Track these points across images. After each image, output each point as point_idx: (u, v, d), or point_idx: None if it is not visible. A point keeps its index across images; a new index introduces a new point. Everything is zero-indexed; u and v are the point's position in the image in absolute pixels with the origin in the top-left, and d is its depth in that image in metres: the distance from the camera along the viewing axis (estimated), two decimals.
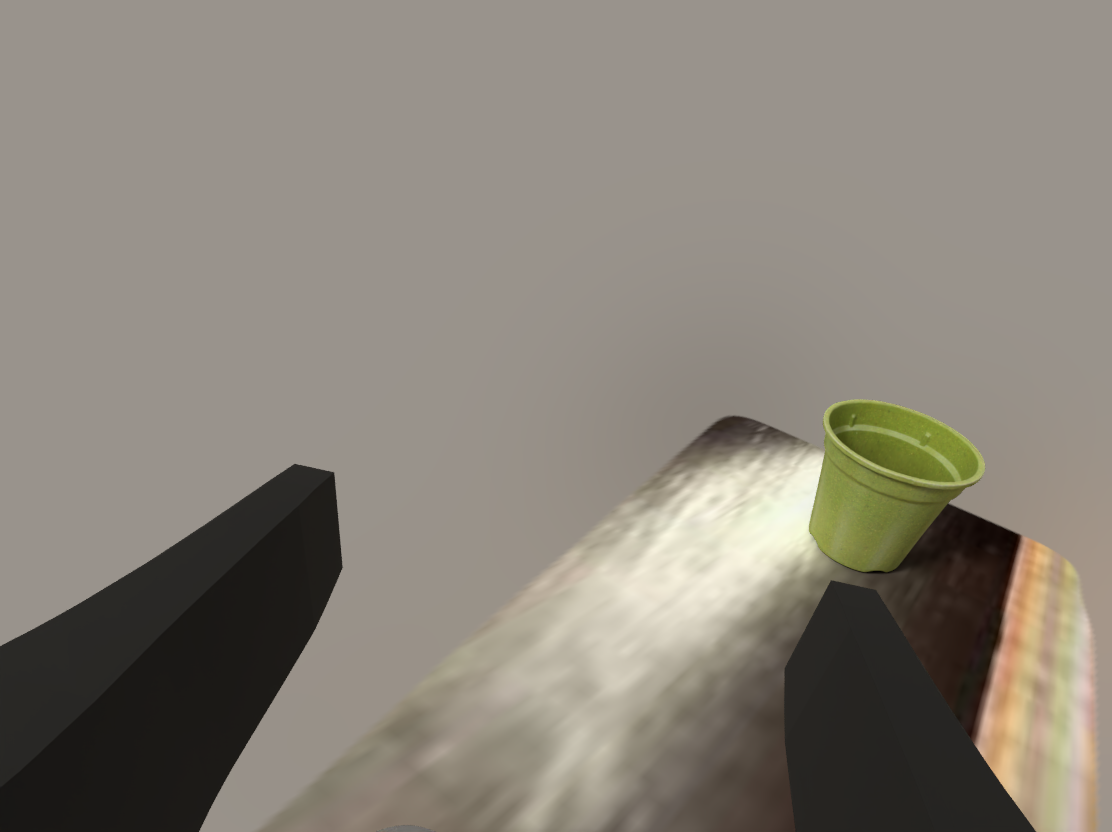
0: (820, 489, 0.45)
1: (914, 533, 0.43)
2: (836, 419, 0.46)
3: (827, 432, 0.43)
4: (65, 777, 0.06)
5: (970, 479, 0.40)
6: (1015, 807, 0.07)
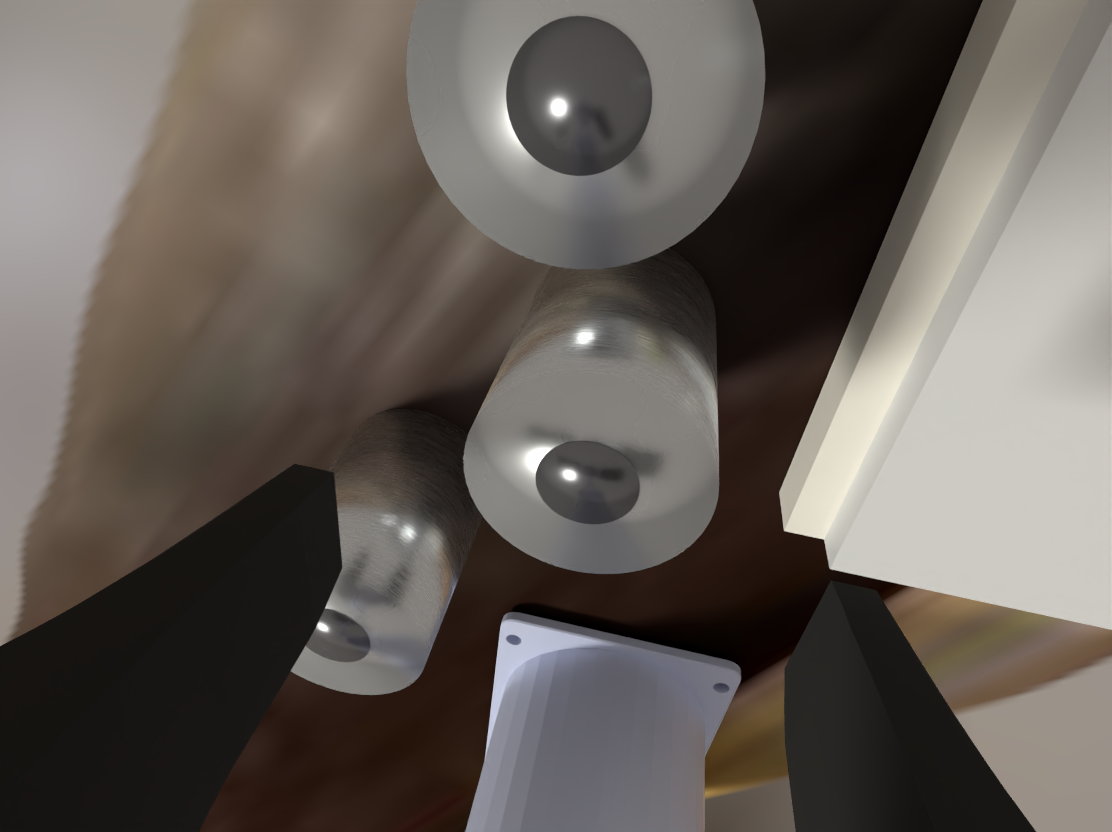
0: None
1: None
2: None
3: None
4: (65, 778, 0.06)
5: None
6: (1015, 807, 0.07)
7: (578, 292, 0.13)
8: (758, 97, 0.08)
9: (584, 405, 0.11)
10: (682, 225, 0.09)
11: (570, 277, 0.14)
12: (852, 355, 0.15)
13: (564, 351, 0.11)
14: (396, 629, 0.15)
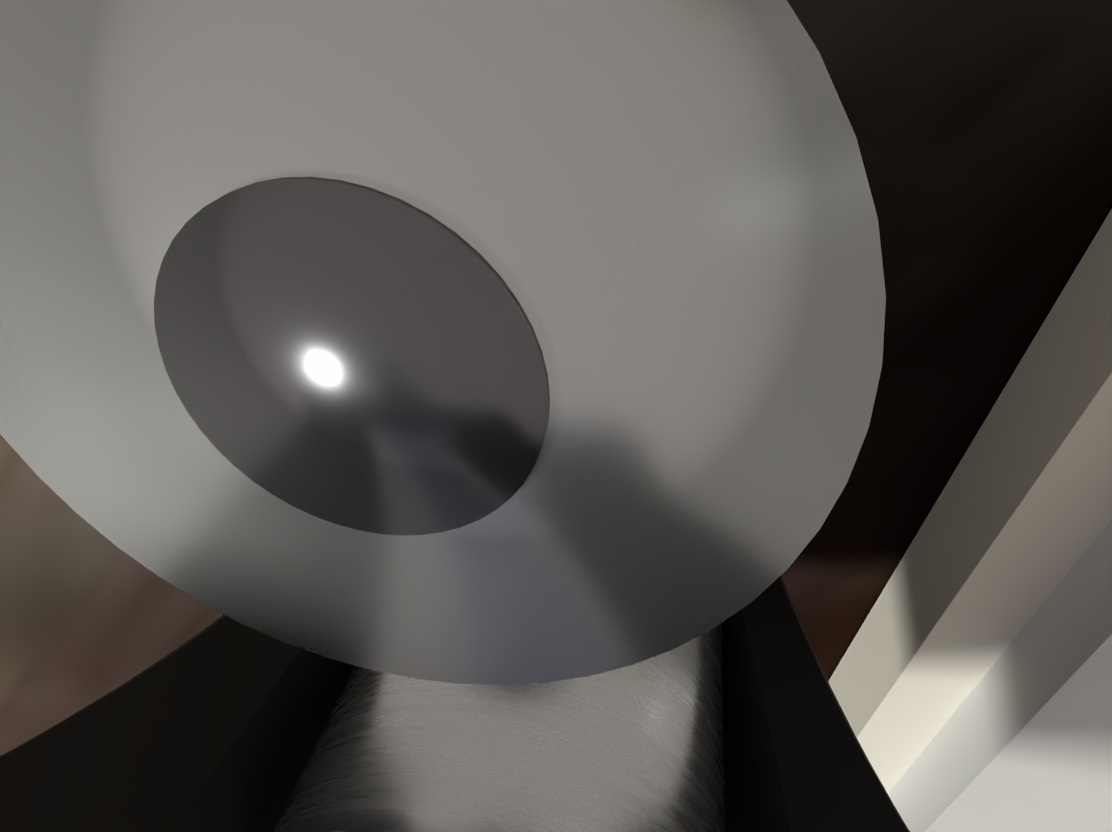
0: None
1: None
2: None
3: None
4: (213, 816, 0.06)
5: None
6: (870, 773, 0.07)
7: None
8: (856, 407, 0.03)
9: None
10: (645, 636, 0.04)
11: None
12: (932, 586, 0.10)
13: (432, 724, 0.06)
14: None
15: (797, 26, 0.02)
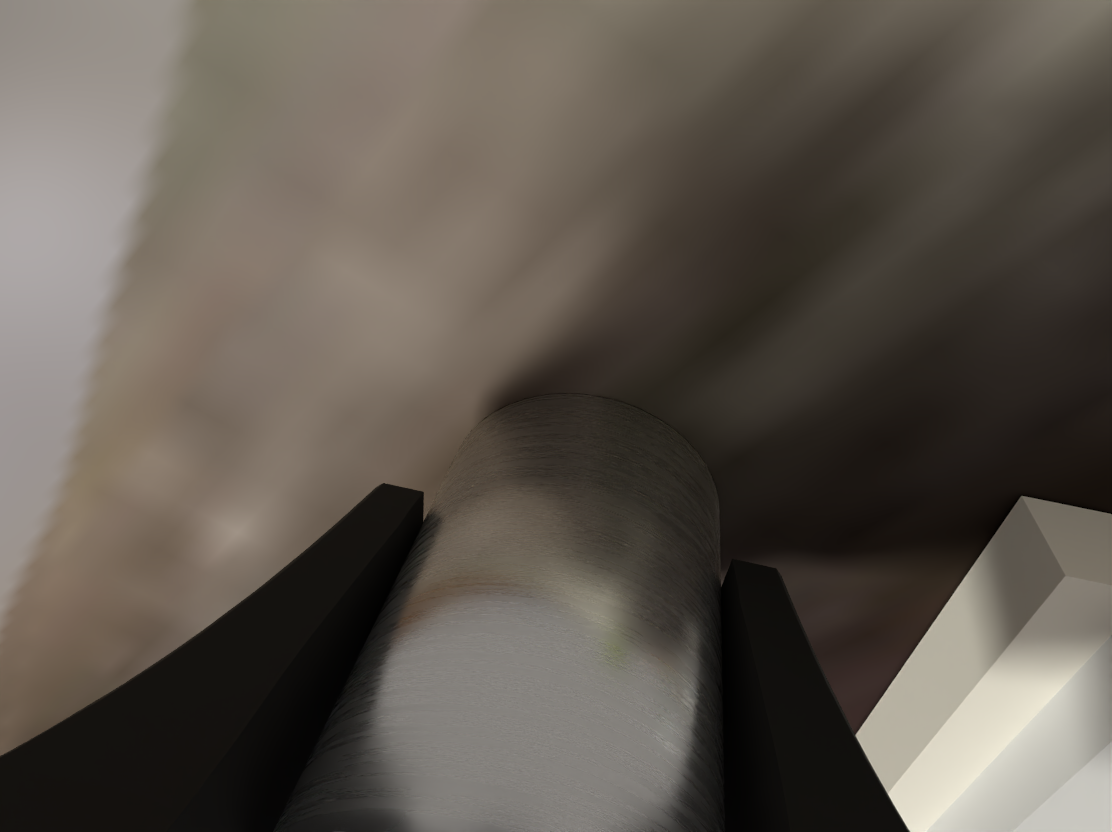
0: None
1: None
2: None
3: None
4: (213, 816, 0.06)
5: None
6: (870, 773, 0.07)
7: None
8: None
9: None
10: None
11: None
12: None
13: None
14: None
15: None
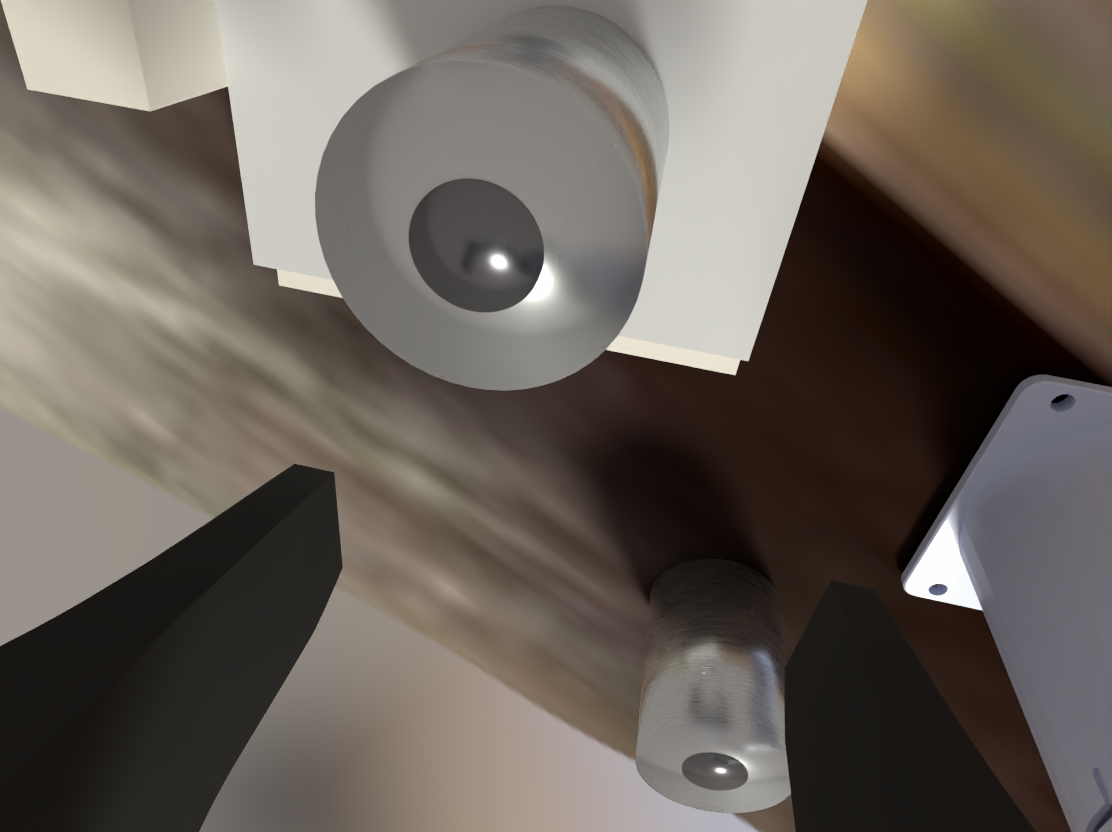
0: None
1: None
2: None
3: None
4: (65, 777, 0.06)
5: None
6: (1015, 807, 0.07)
7: None
8: (641, 252, 0.09)
9: None
10: (581, 356, 0.10)
11: None
12: None
13: None
14: (701, 735, 0.19)
15: (608, 140, 0.08)
